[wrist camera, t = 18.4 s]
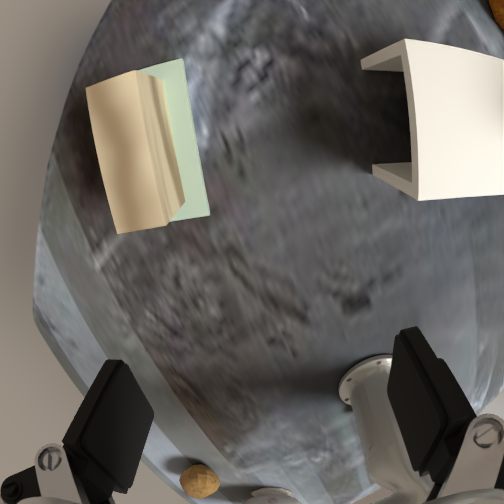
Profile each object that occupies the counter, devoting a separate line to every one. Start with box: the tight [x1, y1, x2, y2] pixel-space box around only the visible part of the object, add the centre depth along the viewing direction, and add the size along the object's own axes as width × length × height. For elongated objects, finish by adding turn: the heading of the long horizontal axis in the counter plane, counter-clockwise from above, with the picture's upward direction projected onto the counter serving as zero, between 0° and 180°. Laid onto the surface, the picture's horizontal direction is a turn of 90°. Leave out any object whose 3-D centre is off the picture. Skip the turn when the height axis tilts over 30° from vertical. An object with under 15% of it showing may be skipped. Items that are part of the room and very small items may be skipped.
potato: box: [179, 464, 220, 499], centre depth 58 cm, size 10×14×8 cm
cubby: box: [360, 39, 504, 201], centre depth 24 cm, size 13×13×11 cm
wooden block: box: [86, 70, 185, 234], centre depth 27 cm, size 5×14×8 cm, turn 8°
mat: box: [138, 58, 210, 222], centre depth 31 cm, size 18×10×1 cm, turn 8°
